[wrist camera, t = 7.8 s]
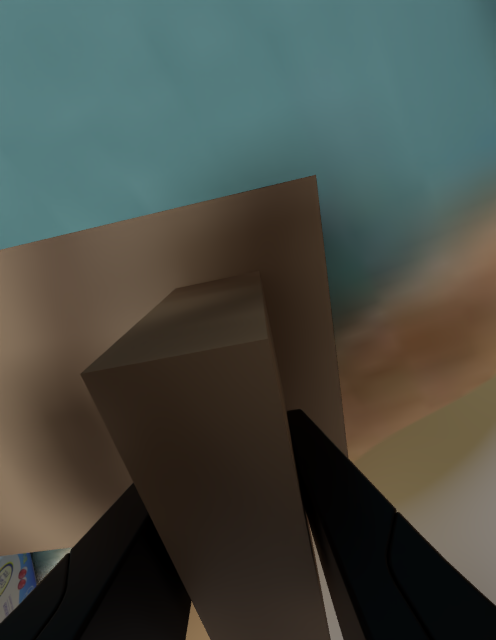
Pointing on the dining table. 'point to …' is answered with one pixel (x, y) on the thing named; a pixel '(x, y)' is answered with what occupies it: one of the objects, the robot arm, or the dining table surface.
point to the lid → (177, 395)
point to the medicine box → (15, 581)
